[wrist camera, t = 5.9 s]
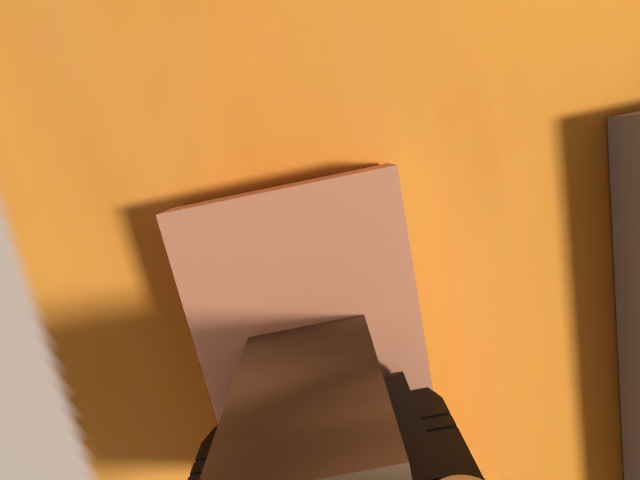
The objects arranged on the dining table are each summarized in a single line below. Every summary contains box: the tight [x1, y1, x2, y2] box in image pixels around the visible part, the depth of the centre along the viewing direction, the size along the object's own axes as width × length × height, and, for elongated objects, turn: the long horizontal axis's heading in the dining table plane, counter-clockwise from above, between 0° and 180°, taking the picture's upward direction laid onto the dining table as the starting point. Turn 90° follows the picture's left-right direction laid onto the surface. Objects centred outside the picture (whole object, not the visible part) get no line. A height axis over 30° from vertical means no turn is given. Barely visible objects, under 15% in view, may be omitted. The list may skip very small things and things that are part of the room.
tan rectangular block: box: [156, 163, 433, 480], centre depth 9 cm, size 6×12×6 cm, turn 12°
